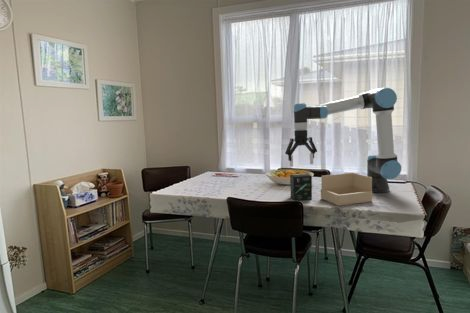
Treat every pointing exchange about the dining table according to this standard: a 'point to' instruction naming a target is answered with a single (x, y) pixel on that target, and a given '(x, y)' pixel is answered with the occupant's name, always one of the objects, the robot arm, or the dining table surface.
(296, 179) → the tampon box
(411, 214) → the dining table surface
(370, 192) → the carton
